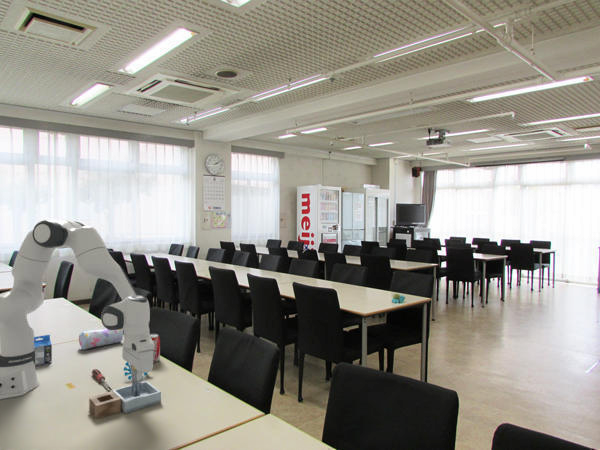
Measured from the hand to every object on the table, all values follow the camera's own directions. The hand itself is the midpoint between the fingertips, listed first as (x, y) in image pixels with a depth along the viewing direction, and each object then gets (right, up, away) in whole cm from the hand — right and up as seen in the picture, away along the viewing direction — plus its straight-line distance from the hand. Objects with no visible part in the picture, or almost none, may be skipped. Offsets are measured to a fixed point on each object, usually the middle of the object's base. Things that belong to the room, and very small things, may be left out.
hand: (136, 377), depth 151 cm
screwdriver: (-20, -9, +16) cm, 27 cm away
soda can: (-9, -8, +42) cm, 44 cm away
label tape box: (-58, -7, +36) cm, 69 cm away
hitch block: (-8, -9, -7) cm, 14 cm away
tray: (0, -9, 0) cm, 9 cm away
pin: (0, -7, 0) cm, 7 cm away
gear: (-8, -9, +22) cm, 26 cm away
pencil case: (-43, -7, +63) cm, 77 cm away
